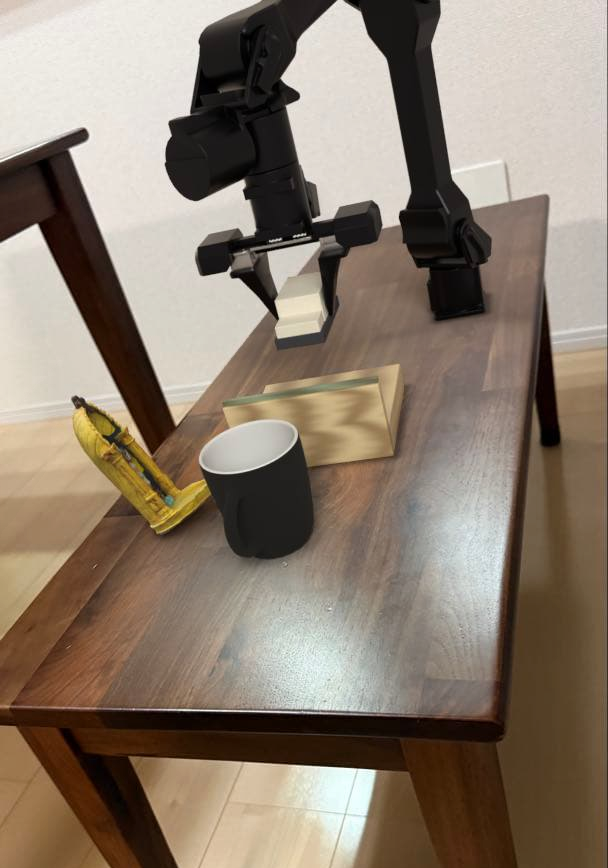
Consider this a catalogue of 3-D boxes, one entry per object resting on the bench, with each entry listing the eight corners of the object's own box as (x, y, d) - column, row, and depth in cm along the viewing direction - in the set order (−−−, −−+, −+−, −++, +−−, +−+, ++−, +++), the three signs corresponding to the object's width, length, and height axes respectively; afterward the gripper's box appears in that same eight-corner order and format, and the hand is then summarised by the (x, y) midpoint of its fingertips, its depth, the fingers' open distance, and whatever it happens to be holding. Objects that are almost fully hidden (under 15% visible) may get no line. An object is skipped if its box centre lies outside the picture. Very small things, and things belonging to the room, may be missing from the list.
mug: (252, 511, 83) (221, 421, 77) (337, 509, 79) (311, 415, 74) (204, 591, 74) (165, 496, 68) (298, 592, 71) (265, 492, 65)
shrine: (106, 552, 84) (43, 420, 75) (138, 505, 90) (83, 378, 81) (210, 546, 80) (155, 406, 71) (236, 497, 86) (188, 363, 78)
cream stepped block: (339, 305, 94) (331, 268, 92) (325, 343, 86) (315, 303, 83) (295, 312, 95) (286, 276, 93) (277, 350, 87) (266, 312, 85)
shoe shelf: (404, 387, 97) (390, 316, 92) (393, 456, 85) (376, 379, 80) (272, 407, 101) (252, 341, 96) (245, 475, 89) (220, 403, 84)
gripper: (373, 127, 85) (400, 277, 94) (203, 166, 90) (243, 305, 99) (359, 152, 76) (390, 315, 85) (172, 194, 82) (219, 344, 90)
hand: (307, 318), depth 90 cm, fingers closed on cream stepped block, 5 cm apart
